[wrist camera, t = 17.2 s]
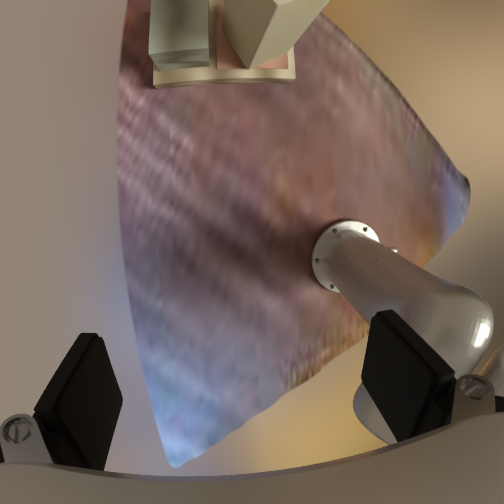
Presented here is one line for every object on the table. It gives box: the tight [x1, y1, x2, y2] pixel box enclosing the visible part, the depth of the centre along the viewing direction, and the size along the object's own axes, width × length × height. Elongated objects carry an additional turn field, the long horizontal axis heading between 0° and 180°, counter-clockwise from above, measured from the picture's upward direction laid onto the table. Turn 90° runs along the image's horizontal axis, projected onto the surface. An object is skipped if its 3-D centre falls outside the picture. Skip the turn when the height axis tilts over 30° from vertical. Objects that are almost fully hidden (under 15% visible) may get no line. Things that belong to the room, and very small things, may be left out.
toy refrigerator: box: [222, 0, 330, 70], centre depth 27 cm, size 8×7×21 cm
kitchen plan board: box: [149, 0, 295, 89], centre depth 34 cm, size 20×14×11 cm
